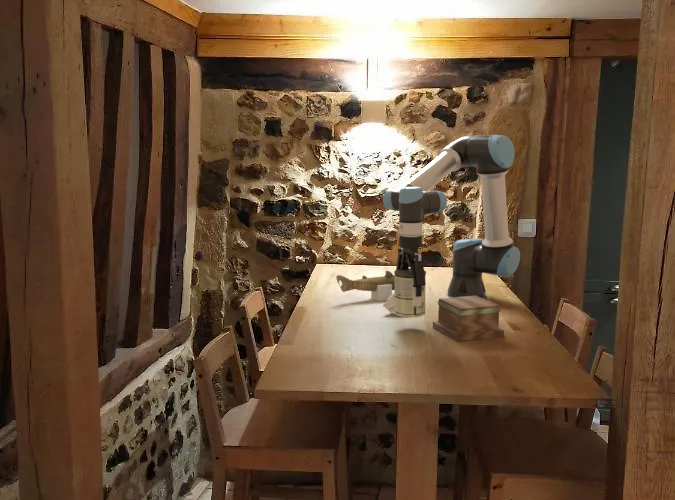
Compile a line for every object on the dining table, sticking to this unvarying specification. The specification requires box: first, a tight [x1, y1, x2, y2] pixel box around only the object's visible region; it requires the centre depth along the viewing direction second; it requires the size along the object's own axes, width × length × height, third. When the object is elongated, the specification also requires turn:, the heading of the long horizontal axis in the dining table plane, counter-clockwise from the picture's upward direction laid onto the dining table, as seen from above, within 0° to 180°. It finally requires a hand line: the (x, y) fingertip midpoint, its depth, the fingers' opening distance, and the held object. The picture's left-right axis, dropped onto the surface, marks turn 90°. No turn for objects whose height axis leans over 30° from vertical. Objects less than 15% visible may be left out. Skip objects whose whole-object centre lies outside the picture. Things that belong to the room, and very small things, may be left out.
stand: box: [432, 295, 505, 342], centre depth 204 cm, size 17×16×10 cm
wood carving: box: [335, 270, 395, 302], centre depth 247 cm, size 9×35×11 cm, turn 114°
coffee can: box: [393, 267, 427, 318], centre depth 206 cm, size 10×10×14 cm
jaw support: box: [382, 291, 395, 315], centre depth 229 cm, size 12×9×10 cm
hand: (409, 301), depth 206 cm, fingers closed on coffee can, 10 cm apart
